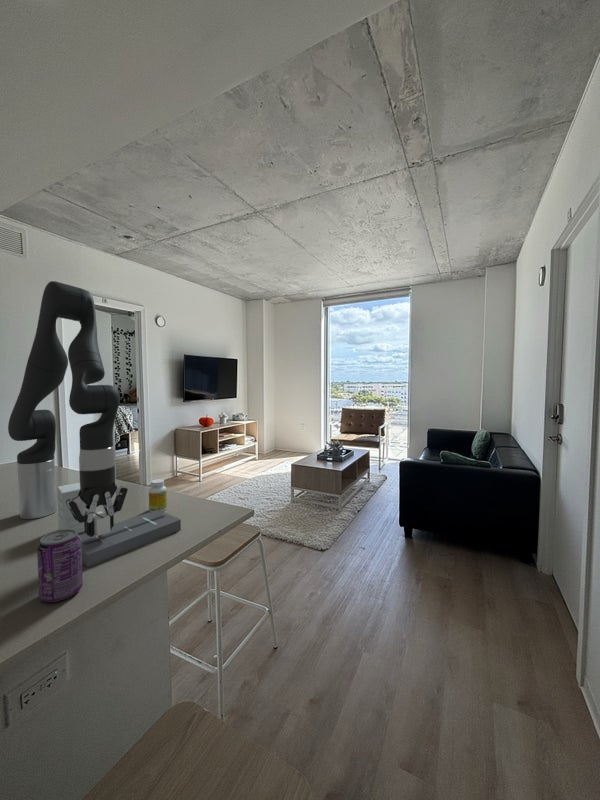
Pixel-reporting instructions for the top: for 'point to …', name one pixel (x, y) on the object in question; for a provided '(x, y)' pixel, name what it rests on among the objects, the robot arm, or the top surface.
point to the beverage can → (59, 565)
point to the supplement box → (64, 513)
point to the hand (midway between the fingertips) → (99, 532)
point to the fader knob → (101, 523)
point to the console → (127, 536)
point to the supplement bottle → (157, 496)
